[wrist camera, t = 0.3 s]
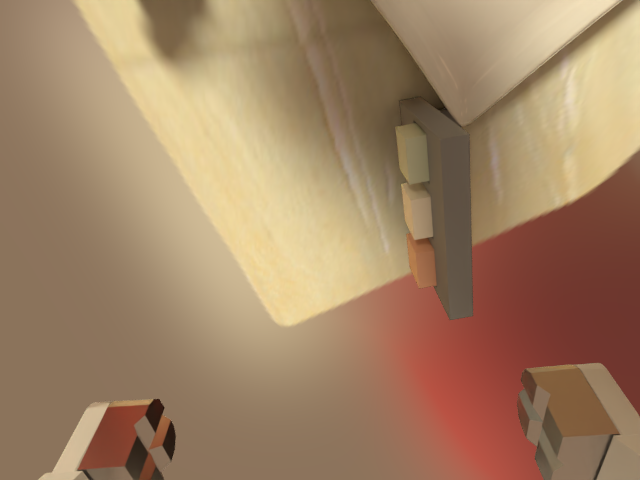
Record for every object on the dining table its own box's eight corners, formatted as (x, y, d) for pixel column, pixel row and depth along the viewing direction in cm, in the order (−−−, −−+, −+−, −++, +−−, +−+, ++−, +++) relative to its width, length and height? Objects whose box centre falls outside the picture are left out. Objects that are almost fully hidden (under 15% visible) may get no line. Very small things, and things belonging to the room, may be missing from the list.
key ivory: (401, 183, 50) (410, 200, 45) (436, 177, 49) (449, 193, 45) (404, 220, 52) (414, 240, 48) (438, 214, 52) (450, 233, 48)
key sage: (395, 126, 47) (405, 139, 42) (432, 119, 46) (446, 131, 42) (399, 168, 49) (409, 184, 45) (435, 162, 49) (448, 177, 44)
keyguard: (399, 100, 52) (440, 139, 37) (457, 89, 52) (522, 123, 37) (413, 243, 62) (449, 320, 47) (462, 234, 61) (515, 308, 46)
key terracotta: (406, 233, 53) (415, 253, 49) (439, 227, 53) (451, 247, 48) (409, 266, 55) (419, 288, 51) (441, 261, 55) (453, 282, 51)
